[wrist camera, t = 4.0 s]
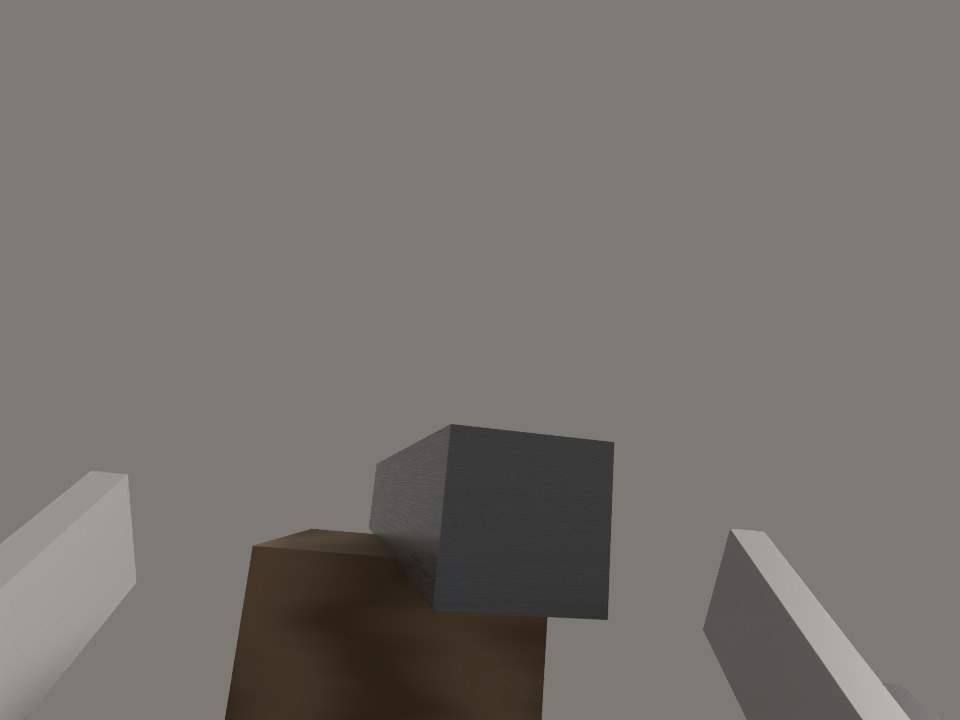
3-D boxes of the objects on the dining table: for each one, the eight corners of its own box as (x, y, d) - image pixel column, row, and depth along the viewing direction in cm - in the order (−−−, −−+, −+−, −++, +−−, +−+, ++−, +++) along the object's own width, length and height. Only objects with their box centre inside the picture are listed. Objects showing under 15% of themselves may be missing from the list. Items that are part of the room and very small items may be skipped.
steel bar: (432, 611, 12) (451, 424, 12) (369, 527, 35) (376, 463, 35) (607, 620, 12) (614, 442, 13) (431, 532, 35) (437, 469, 36)
